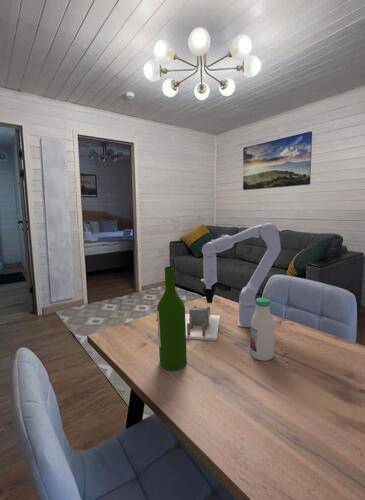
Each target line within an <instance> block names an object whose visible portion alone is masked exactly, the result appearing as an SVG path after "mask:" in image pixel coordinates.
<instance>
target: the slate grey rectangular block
mask: <svg viewBox="0 0 365 500" xmlns="http://www.w3.org/2000/svg"><path fill="white" fill-rule="evenodd" d="M188 312H189V313H188V314H189V315H190V316H192V317H193V326H202V324H204V317H207V327H209V308H207V307H197V308H194V307H189V311H188Z"/></svg>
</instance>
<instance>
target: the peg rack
mask: <svg viewBox="0 0 365 500" xmlns="http://www.w3.org/2000/svg"><path fill="white" fill-rule="evenodd" d="M193 308H198V307H197V305H194V306H193ZM206 308H209V327H207V317H204V324H202V326H193V317H192V316H190V315H189V313H185V323H186V340H189V339H190V340H201V341H214V342H217V341H218V340H217V339H218V334H219V328H220V321H221V315H220V314H219V315H216V314H211V306H207V307H206Z"/></svg>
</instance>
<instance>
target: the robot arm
mask: <svg viewBox="0 0 365 500" xmlns="http://www.w3.org/2000/svg"><path fill="white" fill-rule="evenodd" d="M260 237H261V239H262V240H263V241H264V242H265V245H266V247H267V249H266V251H265V253H264V255H263V256H262V258H261V259H260V261H259V264H258V266H257V267H256V269H255V271H254V273H253V274H252V276H251V278H250V279H249V281H248V282H247V284H246V285H244V286H243V287H242V289H241V291H240V294H239V295H238V300H239V302H238V318H237V326H238V328H239V327H240V328H251V320H252V317H253V315H254V313H255V311H256V297H257V296H256V295H257V294H258V291H259V289H260V287H261V285H262V283H263V282H264V280H265V278H266V276H267V275H268V273H269V271H270V270H271V268H272V266H273V264H274V263H275V261H276V260H277V258H278V256H279V254H280V252H281V251H282V247H281V240H280V239H281V238H280V232H279V229H278V227H277V225H276V224H274V222H270V221H269V222H268V221H267V222H265V223H263V224H262V223H260V224H258V225H255V226H252V227H249V228H247V229H244V230H243V231H240V232H238V233H236V234H233V235H229V234H222V235H220V237H218V238H215V239H210V241H208V242H206V243H204V244H203V246H202V247H201V253H202V254H203V255H202V257H203V259H202V262H203V264H202V265H203V270H202V271H203V278H201V279H200V282H203V283H204V284H205V286H202V291H203V293H204V295H205V299H206V303H207V304H212V303H213V300H214V296H215V293H216V289H217V288H216V286H217V284H218V283H219V282H218V279H217V278H218V277H217V273H218V271H217V270H218V269H217V268H218V267H217V261H218V260H217V253H222V252H224V251H227V250H229V249H231V248H233V247H234V244H235V243H240V242H241V241H244V240H247V239H249V238H256V239H259V238H260Z"/></svg>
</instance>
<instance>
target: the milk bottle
mask: <svg viewBox="0 0 365 500" xmlns="http://www.w3.org/2000/svg"><path fill="white" fill-rule="evenodd" d="M255 301H256V311H255V313H254V315H253V317H252V320H251V327H250V334H249V335H250V337H249V339H250V340H249V341H250V342H249V343H250V344H249V347H250V349H249V350H250V351H249V353H250V356H251V357H252V358H254V359H255V360H257V361H264V362H266V361H271V360H272V359H273V358H274V354H275V321H274V318H273V316H272V313H271V311H270V308H271V300H270V299H269V298H267V297H257V298H255Z"/></svg>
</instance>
